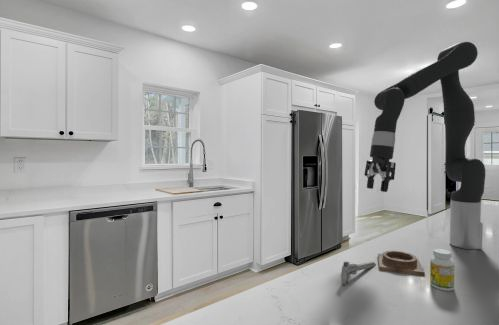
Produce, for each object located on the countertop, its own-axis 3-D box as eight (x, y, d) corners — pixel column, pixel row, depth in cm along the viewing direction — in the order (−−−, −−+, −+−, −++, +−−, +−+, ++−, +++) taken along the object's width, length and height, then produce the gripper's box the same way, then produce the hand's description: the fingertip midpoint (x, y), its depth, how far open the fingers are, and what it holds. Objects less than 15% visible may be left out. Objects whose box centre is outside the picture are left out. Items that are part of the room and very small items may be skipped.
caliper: (344, 287, 78) (344, 264, 78) (341, 286, 79) (341, 263, 78) (376, 265, 92) (376, 245, 92) (372, 264, 93) (372, 245, 93)
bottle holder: (417, 260, 95) (417, 251, 95) (424, 275, 84) (424, 265, 84) (377, 256, 99) (377, 247, 99) (379, 269, 88) (379, 260, 88)
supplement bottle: (456, 292, 74) (457, 256, 73) (432, 289, 76) (433, 253, 75) (450, 283, 79) (451, 249, 78) (428, 280, 81) (428, 247, 80)
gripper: (405, 146, 96) (398, 194, 97) (380, 146, 111) (374, 188, 111) (385, 143, 95) (378, 191, 96) (362, 144, 109) (356, 186, 110)
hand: (376, 189), depth 103 cm, fingers open, 8 cm apart
